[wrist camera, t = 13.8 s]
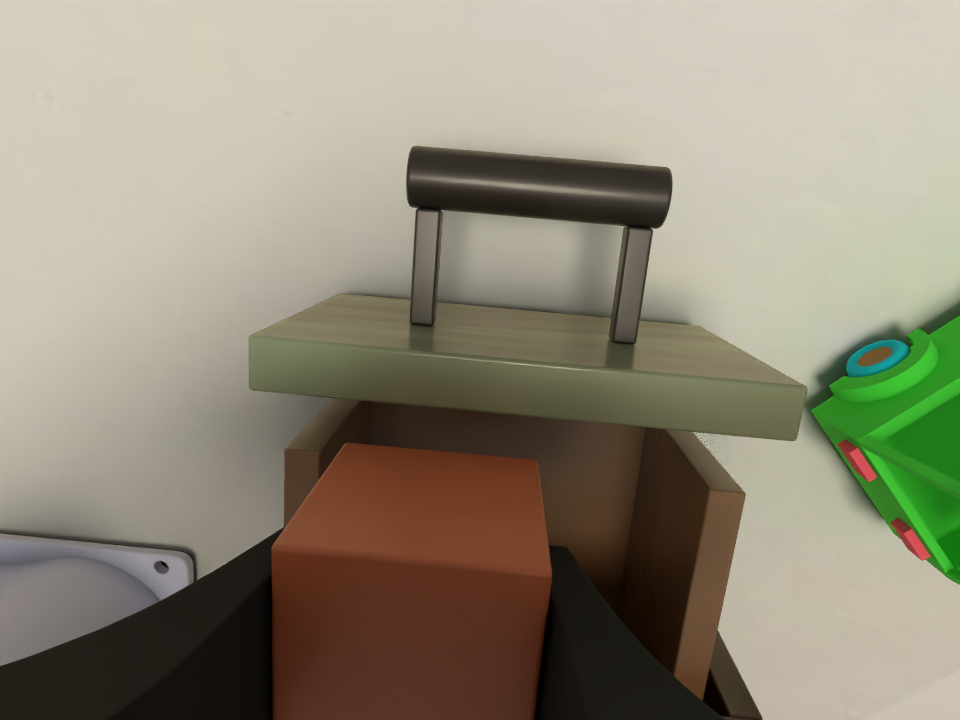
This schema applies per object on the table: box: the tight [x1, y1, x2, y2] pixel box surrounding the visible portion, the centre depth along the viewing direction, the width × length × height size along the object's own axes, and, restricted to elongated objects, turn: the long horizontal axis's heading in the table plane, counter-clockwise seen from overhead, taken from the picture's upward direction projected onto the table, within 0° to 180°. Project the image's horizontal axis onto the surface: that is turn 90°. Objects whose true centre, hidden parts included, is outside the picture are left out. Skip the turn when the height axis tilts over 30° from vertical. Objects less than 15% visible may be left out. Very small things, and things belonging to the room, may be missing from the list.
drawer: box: [249, 146, 807, 701], centre depth 16 cm, size 16×11×7 cm
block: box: [272, 443, 552, 720], centre depth 11 cm, size 4×4×4 cm
